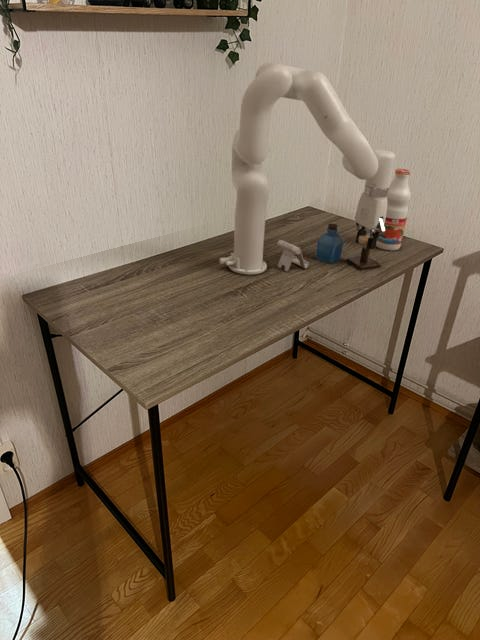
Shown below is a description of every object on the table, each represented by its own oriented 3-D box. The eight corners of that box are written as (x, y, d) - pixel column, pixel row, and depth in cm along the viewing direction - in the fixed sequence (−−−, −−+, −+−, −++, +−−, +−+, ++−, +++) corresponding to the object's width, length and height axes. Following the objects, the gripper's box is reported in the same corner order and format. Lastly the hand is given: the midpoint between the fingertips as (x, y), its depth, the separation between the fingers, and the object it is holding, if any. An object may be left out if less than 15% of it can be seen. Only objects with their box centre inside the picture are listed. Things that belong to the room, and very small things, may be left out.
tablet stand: (308, 268, 163) (311, 244, 159) (291, 273, 159) (294, 249, 154) (290, 259, 169) (292, 236, 164) (273, 264, 164) (275, 241, 160)
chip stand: (360, 270, 164) (363, 253, 161) (346, 260, 170) (349, 244, 167) (380, 266, 166) (383, 250, 164) (365, 258, 173) (368, 242, 170)
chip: (364, 245, 161) (365, 241, 160) (354, 240, 165) (355, 236, 164) (377, 244, 163) (377, 240, 162) (367, 238, 167) (368, 234, 166)
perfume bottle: (315, 257, 171) (319, 224, 165) (326, 253, 175) (330, 221, 169) (330, 263, 167) (335, 229, 161) (340, 258, 171) (345, 225, 165)
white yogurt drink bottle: (399, 243, 187) (415, 168, 173) (401, 252, 179) (418, 174, 165) (374, 240, 189) (388, 165, 175) (374, 249, 181) (389, 171, 167)
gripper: (350, 185, 161) (341, 237, 170) (383, 199, 148) (371, 256, 157) (369, 184, 164) (359, 235, 173) (403, 198, 151) (390, 253, 159)
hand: (365, 245), depth 165 cm, fingers closed on chip, 5 cm apart
